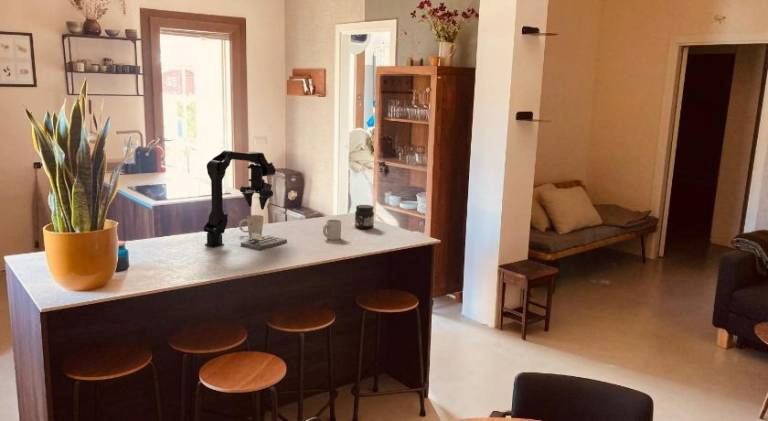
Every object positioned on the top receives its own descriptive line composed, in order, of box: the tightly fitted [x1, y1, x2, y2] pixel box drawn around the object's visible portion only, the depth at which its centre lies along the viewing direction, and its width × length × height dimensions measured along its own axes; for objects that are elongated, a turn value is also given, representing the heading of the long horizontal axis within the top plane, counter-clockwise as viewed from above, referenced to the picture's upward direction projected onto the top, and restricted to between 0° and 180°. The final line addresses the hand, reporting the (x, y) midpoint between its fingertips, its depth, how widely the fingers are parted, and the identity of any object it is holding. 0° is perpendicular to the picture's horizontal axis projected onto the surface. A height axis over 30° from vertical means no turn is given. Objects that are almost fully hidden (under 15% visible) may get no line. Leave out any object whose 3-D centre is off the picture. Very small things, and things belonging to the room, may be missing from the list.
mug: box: [238, 214, 265, 238], centre depth 304 cm, size 8×13×10 cm, turn 89°
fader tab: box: [251, 233, 263, 243], centre depth 286 cm, size 2×4×4 cm, turn 58°
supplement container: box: [354, 204, 375, 231], centre depth 332 cm, size 10×10×12 cm
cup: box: [322, 219, 342, 241], centre depth 306 cm, size 7×10×9 cm
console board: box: [240, 234, 288, 251], centre depth 291 cm, size 19×12×2 cm, turn 148°
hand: (256, 208), depth 303 cm, fingers open, 9 cm apart
